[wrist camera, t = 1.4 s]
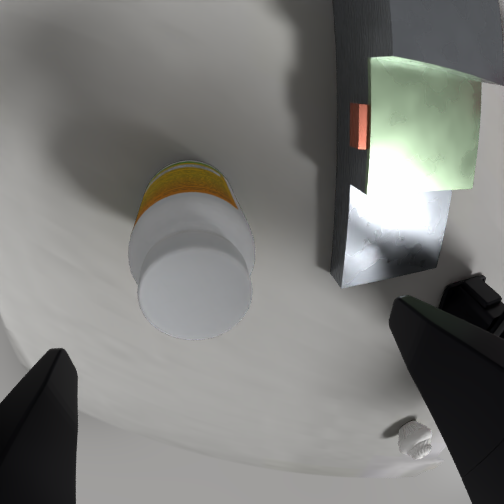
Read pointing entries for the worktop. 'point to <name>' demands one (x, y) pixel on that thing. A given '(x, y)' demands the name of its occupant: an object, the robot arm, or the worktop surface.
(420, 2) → the stand
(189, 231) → the supplement bottle
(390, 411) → the worktop surface
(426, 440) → the muffin
